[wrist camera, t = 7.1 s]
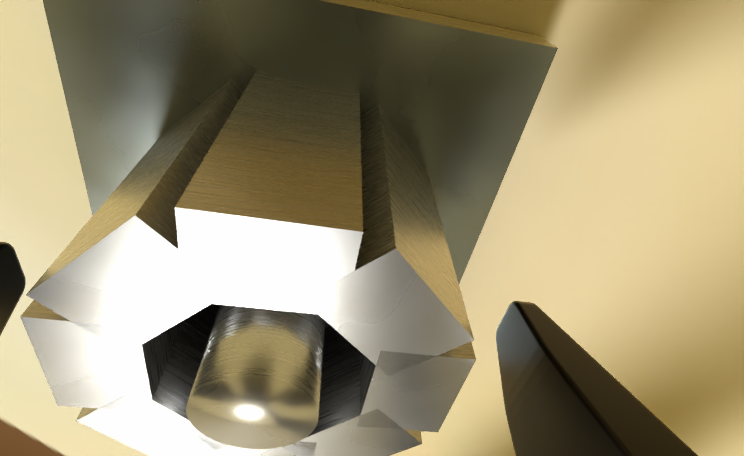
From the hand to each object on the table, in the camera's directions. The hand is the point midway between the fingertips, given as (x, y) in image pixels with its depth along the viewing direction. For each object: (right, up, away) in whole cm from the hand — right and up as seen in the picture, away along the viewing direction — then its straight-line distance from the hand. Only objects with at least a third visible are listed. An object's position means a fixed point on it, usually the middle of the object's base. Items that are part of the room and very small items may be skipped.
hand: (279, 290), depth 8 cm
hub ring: (0, +2, +2) cm, 3 cm away
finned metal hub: (0, +2, +3) cm, 4 cm away
